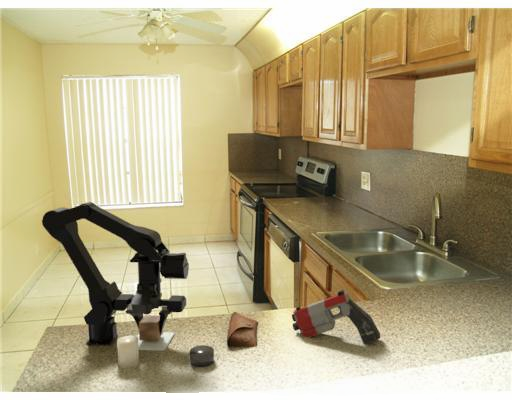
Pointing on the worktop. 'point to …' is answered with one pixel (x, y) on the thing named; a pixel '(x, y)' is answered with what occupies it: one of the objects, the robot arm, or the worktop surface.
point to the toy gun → (334, 317)
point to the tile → (156, 342)
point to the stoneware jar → (128, 351)
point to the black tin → (201, 356)
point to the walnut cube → (149, 328)
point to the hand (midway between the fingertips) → (151, 333)
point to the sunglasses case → (241, 331)
